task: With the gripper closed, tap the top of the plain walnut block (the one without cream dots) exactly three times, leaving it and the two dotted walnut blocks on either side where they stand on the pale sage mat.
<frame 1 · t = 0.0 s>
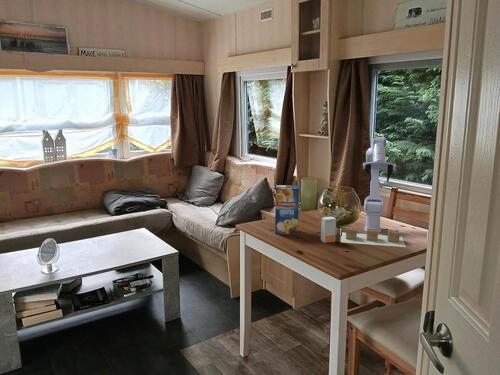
hand: (379, 180, 197), 32 cm above the table, tool tilted 50°, fingers open, 7 cm apart
sage mat: (371, 240, 215), on the table
skincare box: (327, 241, 213), on the table
plain block: (371, 239, 214), resting on sage mat
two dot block: (351, 237, 217), resting on sage mat
one dot block: (393, 240, 212), resting on sage mat
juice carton: (286, 232, 228), on the table
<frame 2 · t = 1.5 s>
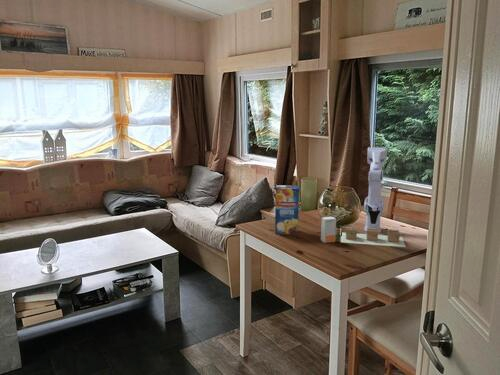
hand: (372, 221, 213), 9 cm above the table, tool pointing down, fingers open, 6 cm apart
nothing on the table moved.
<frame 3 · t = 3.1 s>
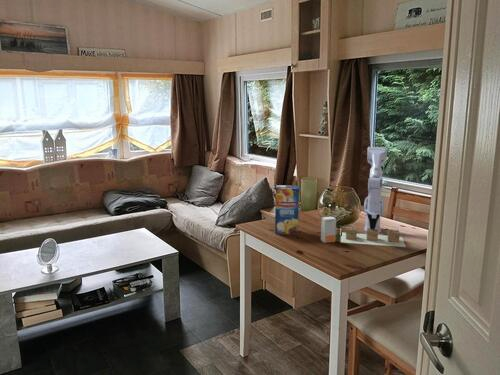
hand: (372, 228, 213), 6 cm above the table, tool pointing down, fingers closed
nothing on the table moved.
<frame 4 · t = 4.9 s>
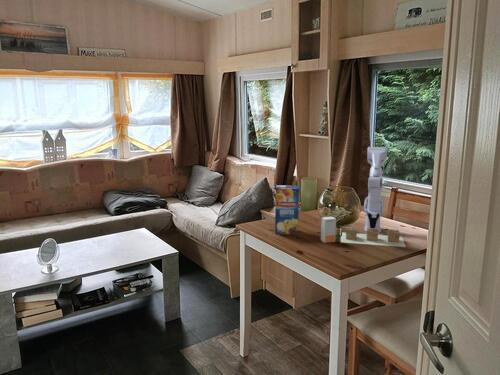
hand: (372, 228, 213), 6 cm above the table, tool pointing down, fingers closed
nothing on the table moved.
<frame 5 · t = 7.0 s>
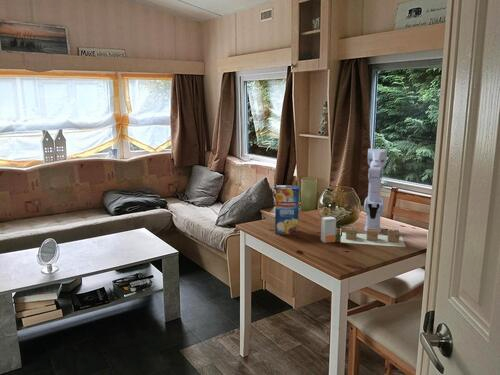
hand: (372, 218, 215), 10 cm above the table, tool pointing down, fingers closed
nothing on the table moved.
at the end: plain block moved 0.0 cm from its start; plain block tilted 0°; one dot block moved 0.0 cm from its start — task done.
